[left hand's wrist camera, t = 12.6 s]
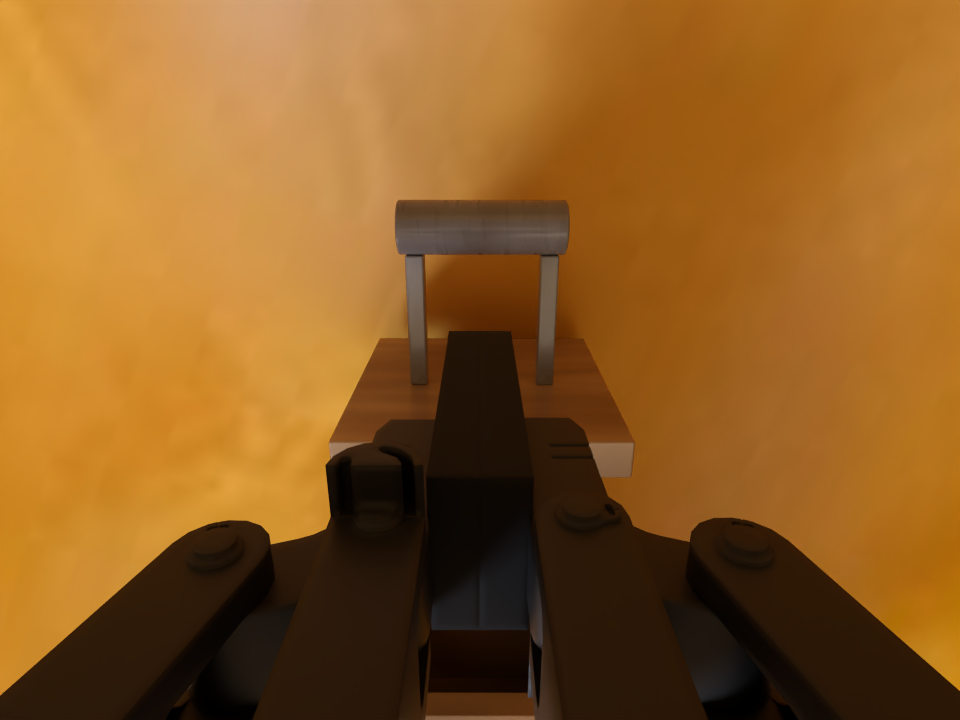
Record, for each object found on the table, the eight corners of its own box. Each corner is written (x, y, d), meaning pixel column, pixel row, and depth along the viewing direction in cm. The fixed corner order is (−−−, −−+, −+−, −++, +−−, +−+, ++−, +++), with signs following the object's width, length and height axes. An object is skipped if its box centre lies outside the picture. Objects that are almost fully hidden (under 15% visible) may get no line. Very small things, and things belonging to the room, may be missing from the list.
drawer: (369, 187, 23) (305, 218, 15) (593, 187, 23) (659, 218, 15) (400, 670, 32) (371, 864, 24) (561, 671, 32) (590, 865, 24)
